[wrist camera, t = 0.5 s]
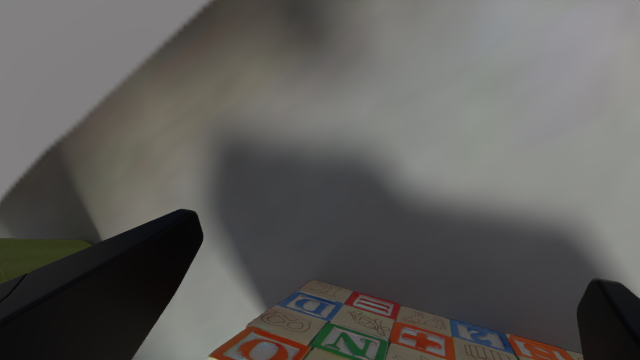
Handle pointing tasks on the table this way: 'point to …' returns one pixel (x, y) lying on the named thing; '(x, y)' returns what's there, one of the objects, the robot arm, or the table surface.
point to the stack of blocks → (370, 333)
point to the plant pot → (33, 254)
